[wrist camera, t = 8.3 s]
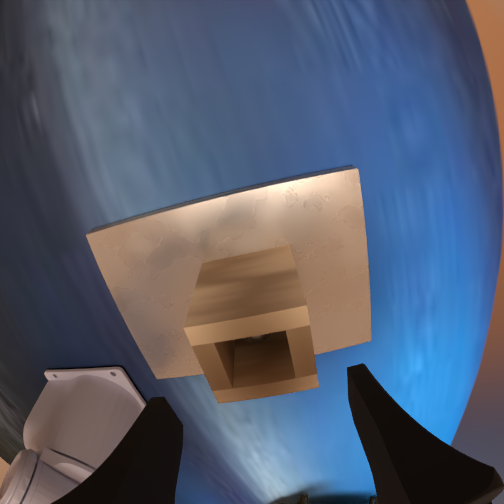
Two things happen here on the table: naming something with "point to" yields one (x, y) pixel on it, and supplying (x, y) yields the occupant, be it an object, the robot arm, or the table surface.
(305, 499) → the bench grinder
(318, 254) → the base plate
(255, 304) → the hollow square block
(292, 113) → the table surface
